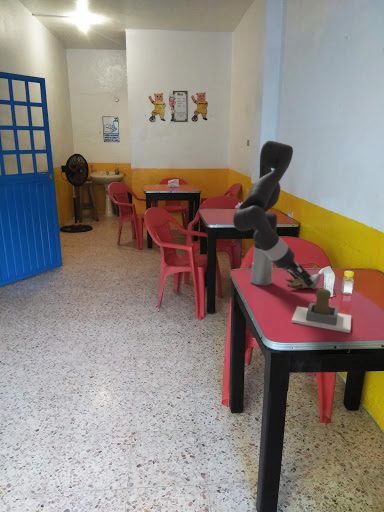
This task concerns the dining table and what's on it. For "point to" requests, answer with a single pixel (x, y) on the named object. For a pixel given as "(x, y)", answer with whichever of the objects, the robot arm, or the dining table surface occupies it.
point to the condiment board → (322, 318)
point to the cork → (322, 301)
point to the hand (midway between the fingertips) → (303, 281)
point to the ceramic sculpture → (300, 284)
